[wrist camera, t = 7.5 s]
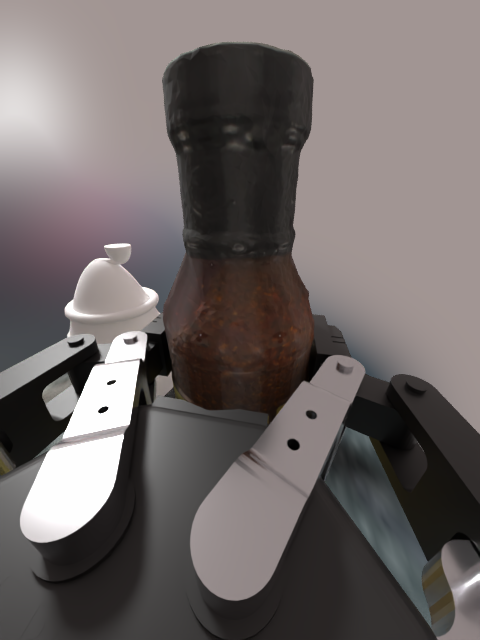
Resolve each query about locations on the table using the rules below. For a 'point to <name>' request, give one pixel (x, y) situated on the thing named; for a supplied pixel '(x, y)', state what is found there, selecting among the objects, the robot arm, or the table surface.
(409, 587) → the table surface
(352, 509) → the table surface
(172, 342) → the sauce bottle
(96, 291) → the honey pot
